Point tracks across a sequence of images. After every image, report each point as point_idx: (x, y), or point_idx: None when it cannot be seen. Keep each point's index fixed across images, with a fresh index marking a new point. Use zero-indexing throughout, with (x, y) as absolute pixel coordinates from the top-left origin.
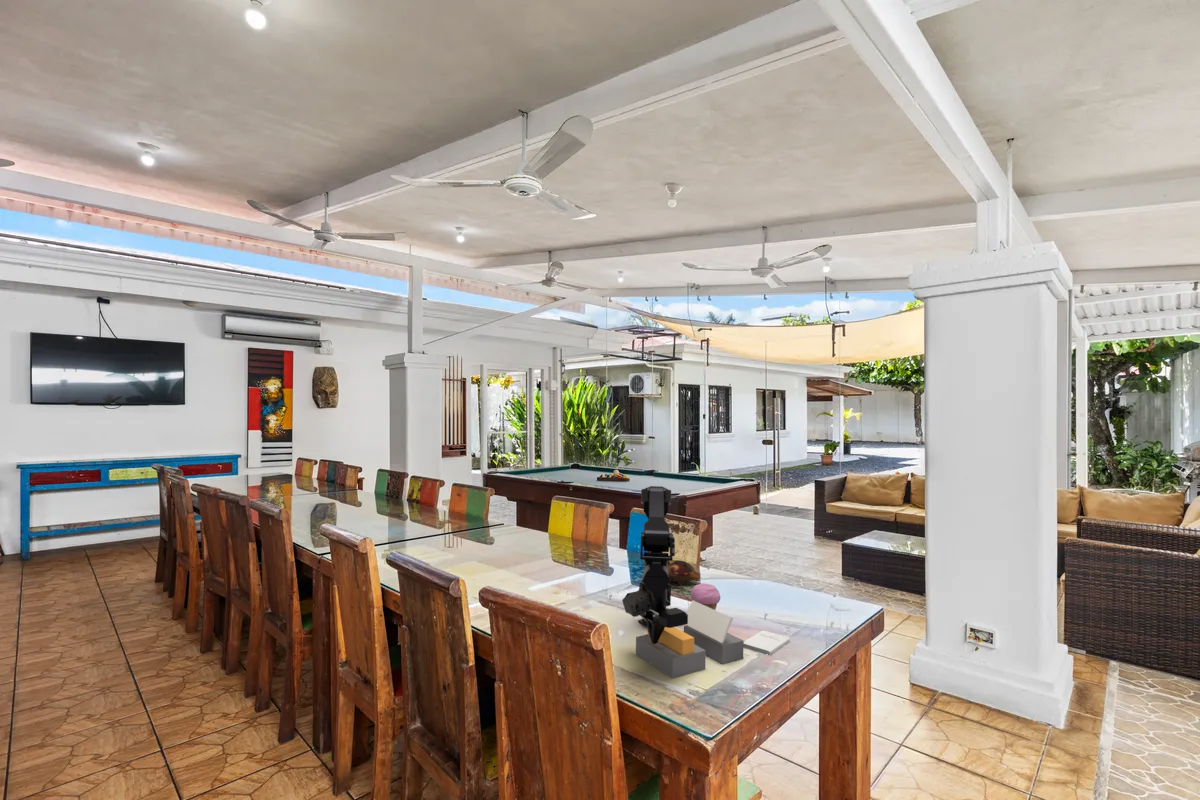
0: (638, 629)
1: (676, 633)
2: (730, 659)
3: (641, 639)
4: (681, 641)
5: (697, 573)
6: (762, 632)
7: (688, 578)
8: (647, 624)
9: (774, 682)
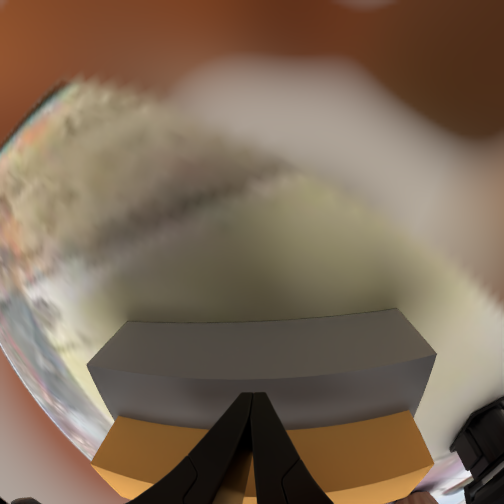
0: (494, 384)
1: None
2: None
3: (393, 367)
4: (101, 460)
5: None
6: None
7: None
8: (292, 497)
9: (91, 455)
